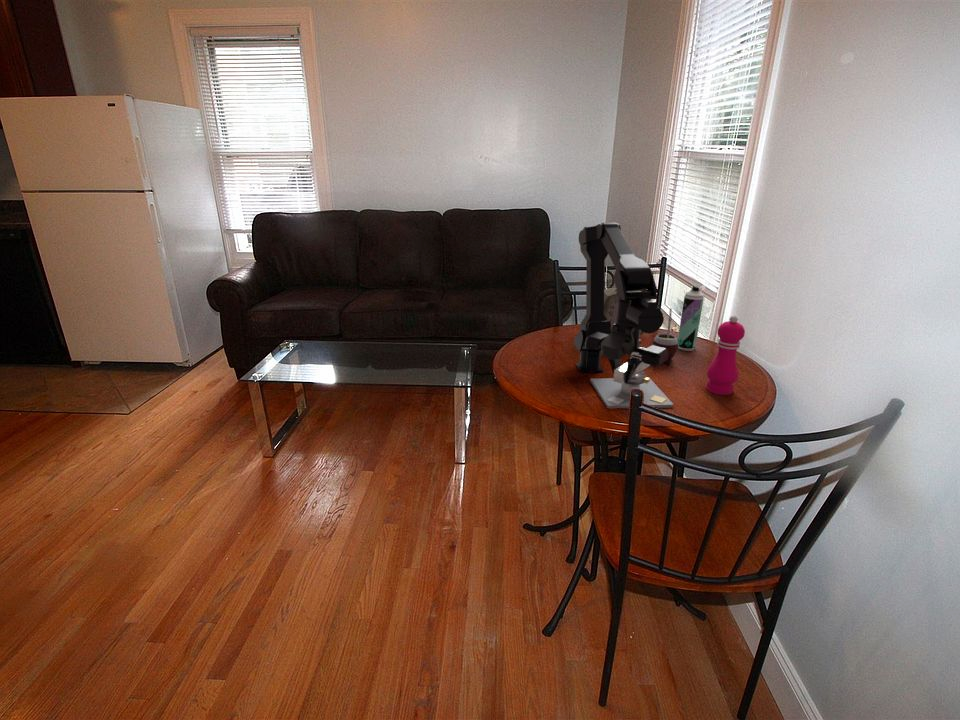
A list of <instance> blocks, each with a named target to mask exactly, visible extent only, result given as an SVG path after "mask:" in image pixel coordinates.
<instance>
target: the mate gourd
mask: <svg viewBox="0 0 960 720" xmlns="http://www.w3.org/2000/svg"><path fill="white" fill-rule="evenodd" d="M672 311H673V310H672V308H669V316H668V326H667V327H668V328H667V333H660V334H657V335H656V336H655V337H654V338H653V341H652V343H651V346H652V345H654V346H658V347H663V348H666V349H667V351H668V353H669V354H668V360H667V361H665V362H664V363H663V364H664V365H666V366H667V367H671V365H672V364H671V363H672V362H673V358H674V357H675V355H676V354H677V351H678V350H679V349H678V338H677V337H676V336H674V335H672V334H670V331H671V322H672V313H673V312H672Z"/></svg>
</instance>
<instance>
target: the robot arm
mask: <svg viewBox="0 0 960 720" xmlns="http://www.w3.org/2000/svg"><path fill="white" fill-rule="evenodd" d="M621 229H622V227H621V224H620V223H617V222H601V223H598V224H597V225H593V226H584V227H583V228H582V229H581V230H580V231H579V234H578V243H579V247H580V248H579V249H580V253H581V254H582V256H583V257H584V259H585V261H586V289H585V290H586V293H585V294H586V300H585V302H586V305H585V306H586V309H585V312H586V313H585V315H584V317H583V319H582V321H581V322H580V324H579V331H578V332H577V334H576V335H575V337H574V341H573V344H574V347H575V349H576V350H577V351H579V352H580V354H579V361H578V362H575V365H576V367H577V369H578V370H579V372H580V373H604V369H603V367H602V366H601V356H603V357H606V358H607V360H608V361H609V362H608V363H609V364H610V367H611V371H612V375H613V376H614V370H615V369H616V368H618V367H620V366H621V365H622V359H623V357H624V356H625V355H626V356H629V357H628V358H627V359H626V360H625V361H626V362H627V364H628V366H627V371H626V377H625V383H628V382H629V380H630V379H631V377H632V375H633V374H634V372H635V370H636V369H637V367H638V366H639V364H640V363H642V362H644V363H645V364H649V365H650V366H653V367H659V366H661V365H662V364H664V362H665V361H667V360H668V354H669V353H668V351H667V349H666V348H663V347H658V346H654V345H652V344H651V345H650V346H648V347H647V348H646V347H642V346H640V345H642V339H640V337H641V335H640V330H641V331H642V332H644V333H643V334H653V333H655V332H658V330H660V329H661V328H662V326H663V324H664V319H665V317H664V314H663V312H662V310H661V309H660V308H658V307H657V305H658V302H657V301H656V300H657V299H658V292H659V291H658V287H657V284H656V282H655V277H654V274H653V271H652V269H651V267H650V266H649V265H648V264H647V262H646V261H645V260H643V259H641V258H640V257H637V256H635V254H634V252H633V251H632V249H631V247H630V245H629V244H628V242H627V239H626V238H625V236H624V234H623V233H622V231H621ZM608 256H609V258H610V260H611V262H612V264H613V266H614V269H615V271H614V274H613V280H614V284H615V288H617V290H618V292H617V293H616V296H618V305H617V315H616V323H615V324H613V327H612V331H611V322H610V321H608V320H607V318H606V317H605V315H604V290H605V274H606V273H605V266H606V263H605V261H606V259H607V258H608ZM633 291H641V292H633ZM630 356H631V357H630Z"/></svg>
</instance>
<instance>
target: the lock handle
mask: <svg viewBox="0 0 960 720" xmlns="http://www.w3.org/2000/svg"><path fill="white" fill-rule="evenodd" d="M627 366H628V364H627V361H626V362H625V363H623V364H621V366H620V367H618V368H616V369H615V370H614V375H613V377H612V378H613V381H615V382H618V383H621V384H623V383H625V377H626V371H627ZM650 366H651V365H649V364H645V363H644V362H642V363H640V364H639V366H638V367H637V369H636V370H635V372H634V374H633V375H632V377H631V379H630V380H629V382H628V383H626V384H631V385H639V384H643V383H649V380H650V379H651V378H650V377H649V378H647V373H646V372H645V370H646V369H647V368H649V367H650Z"/></svg>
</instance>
